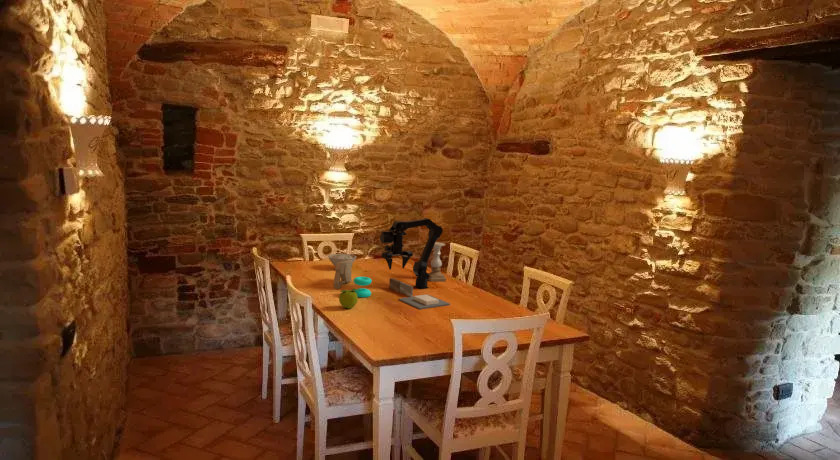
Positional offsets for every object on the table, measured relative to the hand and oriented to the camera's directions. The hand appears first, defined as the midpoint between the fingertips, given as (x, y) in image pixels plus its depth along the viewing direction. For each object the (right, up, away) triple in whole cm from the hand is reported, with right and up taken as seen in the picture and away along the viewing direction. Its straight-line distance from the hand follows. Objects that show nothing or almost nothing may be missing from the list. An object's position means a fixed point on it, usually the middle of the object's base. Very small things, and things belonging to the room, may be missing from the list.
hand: (396, 268), depth 310 cm
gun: (-32, -10, +7) cm, 35 cm away
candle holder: (+24, -10, +33) cm, 42 cm away
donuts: (-19, -14, -16) cm, 28 cm away
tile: (+14, -14, -20) cm, 28 cm away
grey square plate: (+16, -17, -23) cm, 33 cm away
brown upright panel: (+3, -13, -5) cm, 14 cm away
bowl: (-39, -4, +49) cm, 63 cm away
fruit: (-23, -17, -41) cm, 50 cm away
